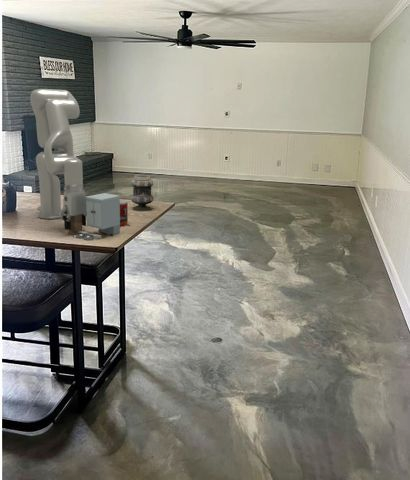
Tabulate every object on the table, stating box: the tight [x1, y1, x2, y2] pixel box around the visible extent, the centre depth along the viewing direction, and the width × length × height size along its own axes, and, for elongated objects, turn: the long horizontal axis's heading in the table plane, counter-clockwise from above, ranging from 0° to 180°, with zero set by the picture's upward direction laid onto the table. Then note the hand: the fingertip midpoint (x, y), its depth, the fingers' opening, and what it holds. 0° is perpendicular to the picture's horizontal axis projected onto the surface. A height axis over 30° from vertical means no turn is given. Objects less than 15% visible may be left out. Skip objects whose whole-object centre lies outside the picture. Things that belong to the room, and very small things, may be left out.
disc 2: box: [82, 235, 94, 242], centre depth 205 cm, size 4×4×2 cm
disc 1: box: [75, 233, 85, 240], centre depth 207 cm, size 4×4×2 cm
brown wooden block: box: [68, 214, 102, 240], centre depth 209 cm, size 16×4×10 cm, turn 58°
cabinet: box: [86, 192, 121, 236], centre depth 211 cm, size 9×12×17 cm
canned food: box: [120, 199, 129, 227], centre depth 229 cm, size 8×8×11 cm
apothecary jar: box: [130, 174, 154, 212], centre depth 260 cm, size 12×12×18 cm
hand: (75, 227), depth 212 cm, fingers open, 8 cm apart
